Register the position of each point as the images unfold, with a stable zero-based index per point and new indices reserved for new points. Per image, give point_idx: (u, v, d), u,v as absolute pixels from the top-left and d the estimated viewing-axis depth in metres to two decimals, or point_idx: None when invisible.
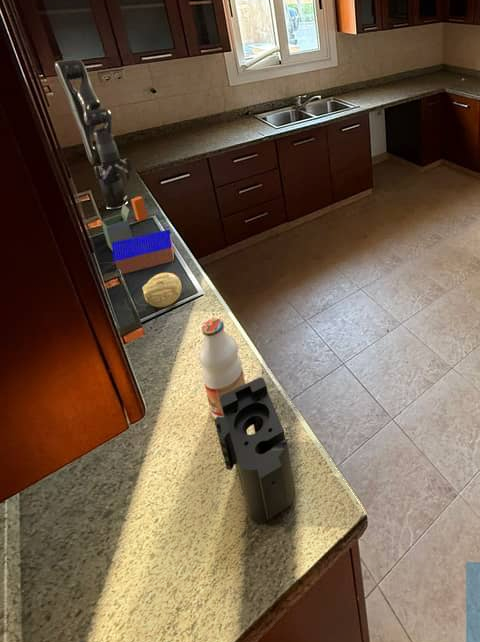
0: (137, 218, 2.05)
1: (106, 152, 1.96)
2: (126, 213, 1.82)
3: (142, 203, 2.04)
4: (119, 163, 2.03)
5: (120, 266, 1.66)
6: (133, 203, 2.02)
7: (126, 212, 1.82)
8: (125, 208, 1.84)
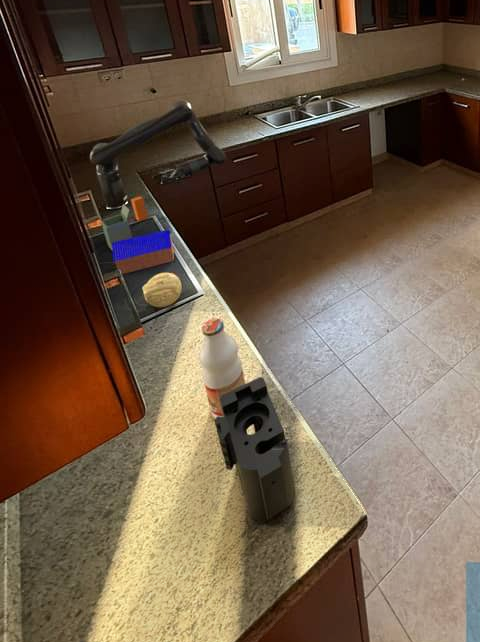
0: (137, 218, 2.05)
1: (191, 174, 2.23)
2: (126, 213, 1.82)
3: (142, 203, 2.04)
4: None
5: (120, 266, 1.66)
6: (133, 203, 2.02)
7: (126, 212, 1.82)
8: (125, 208, 1.84)
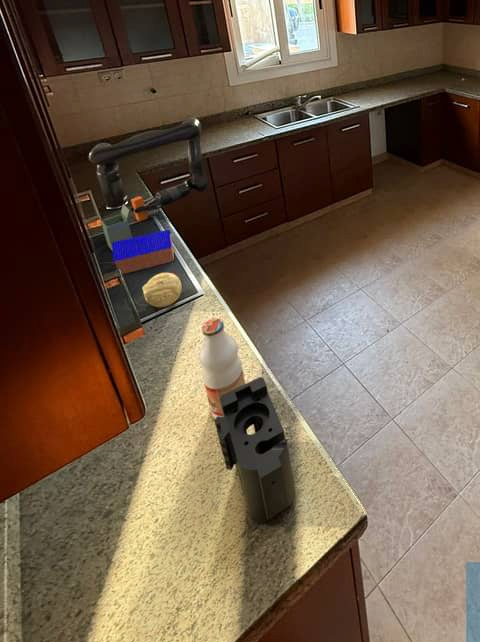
0: (137, 218, 2.05)
1: (171, 202, 2.17)
2: (126, 213, 1.82)
3: (142, 203, 2.04)
4: None
5: (120, 266, 1.66)
6: (133, 203, 2.02)
7: (126, 212, 1.82)
8: (125, 208, 1.84)
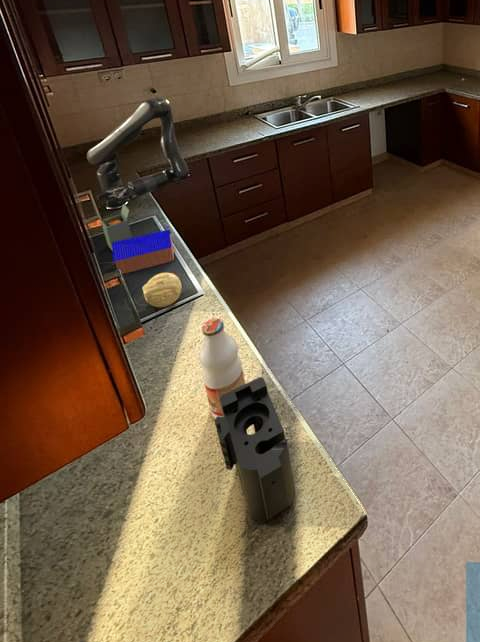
0: None
1: (146, 193, 1.90)
2: (126, 213, 1.82)
3: None
4: None
5: (120, 266, 1.66)
6: None
7: (126, 212, 1.82)
8: (125, 208, 1.84)
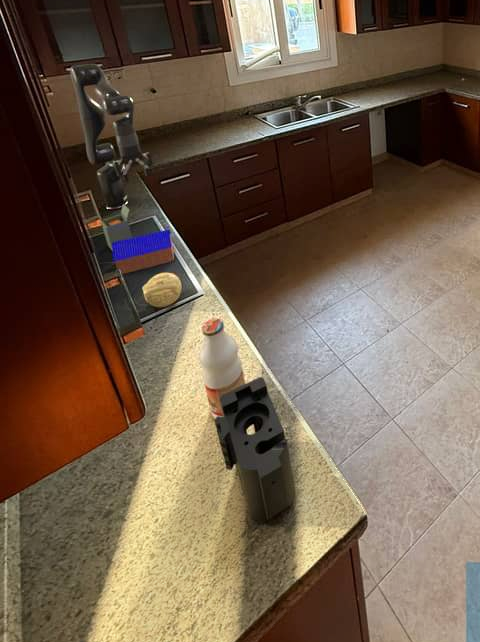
0: None
1: (127, 145, 1.75)
2: (126, 213, 1.82)
3: None
4: (140, 157, 1.82)
5: (120, 266, 1.66)
6: None
7: (126, 212, 1.82)
8: (125, 208, 1.84)
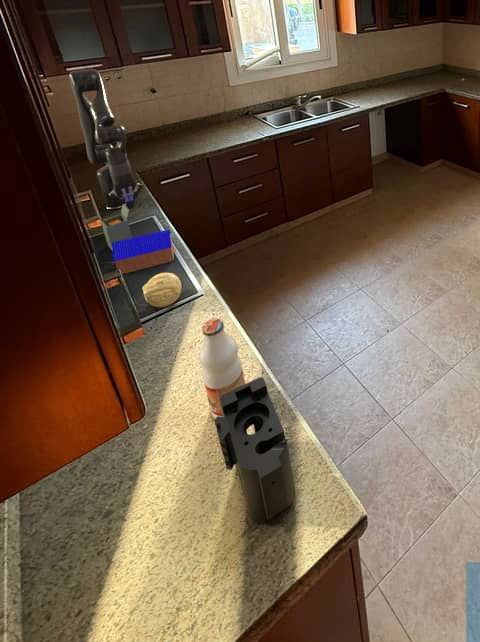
0: None
1: (119, 174, 1.75)
2: (126, 213, 1.82)
3: None
4: (133, 185, 1.82)
5: (120, 266, 1.66)
6: None
7: (126, 212, 1.82)
8: (125, 208, 1.84)
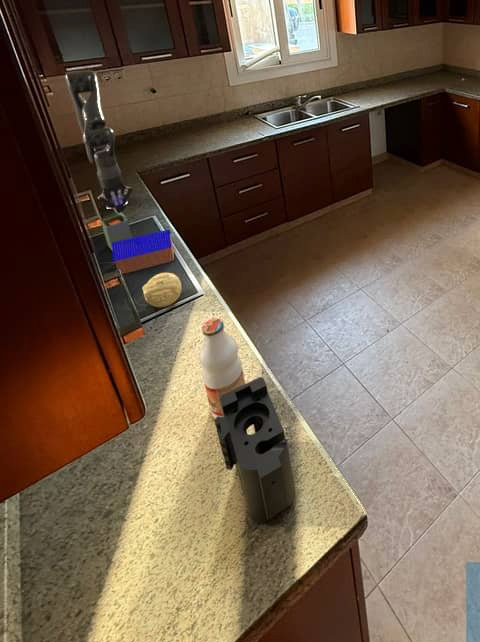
0: None
1: (108, 177, 1.73)
2: None
3: None
4: (122, 188, 1.80)
5: (120, 266, 1.66)
6: None
7: None
8: (117, 212, 1.82)
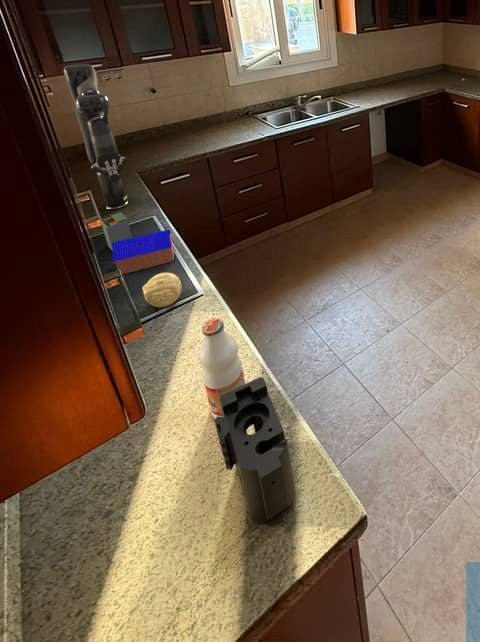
0: None
1: (102, 145, 1.68)
2: None
3: None
4: (117, 158, 1.75)
5: (120, 266, 1.66)
6: None
7: None
8: None
